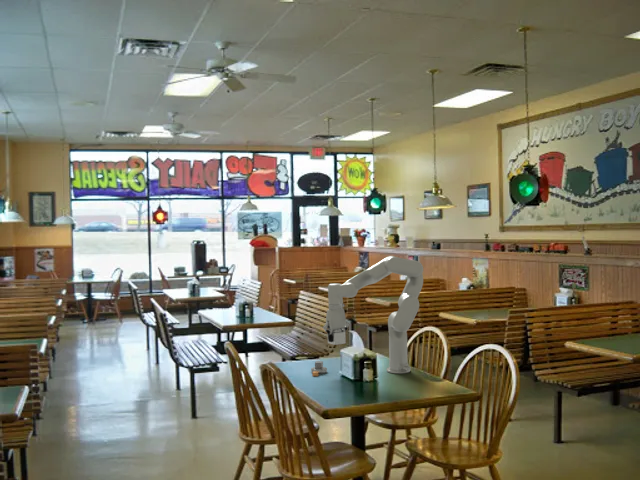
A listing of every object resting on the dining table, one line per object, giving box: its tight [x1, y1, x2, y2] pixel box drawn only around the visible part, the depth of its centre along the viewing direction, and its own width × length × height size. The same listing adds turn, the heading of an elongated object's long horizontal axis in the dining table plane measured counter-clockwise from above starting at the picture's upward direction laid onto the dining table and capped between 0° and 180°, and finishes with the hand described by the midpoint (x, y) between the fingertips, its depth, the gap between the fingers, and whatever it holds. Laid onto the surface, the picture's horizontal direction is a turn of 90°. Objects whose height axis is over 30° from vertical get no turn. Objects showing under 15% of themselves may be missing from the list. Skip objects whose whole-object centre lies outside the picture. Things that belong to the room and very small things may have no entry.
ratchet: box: [310, 360, 328, 377], centre depth 330 cm, size 13×8×6 cm, turn 166°
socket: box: [327, 328, 347, 346], centre depth 329 cm, size 7×7×7 cm
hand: (336, 340), depth 329 cm, fingers closed on socket, 6 cm apart
